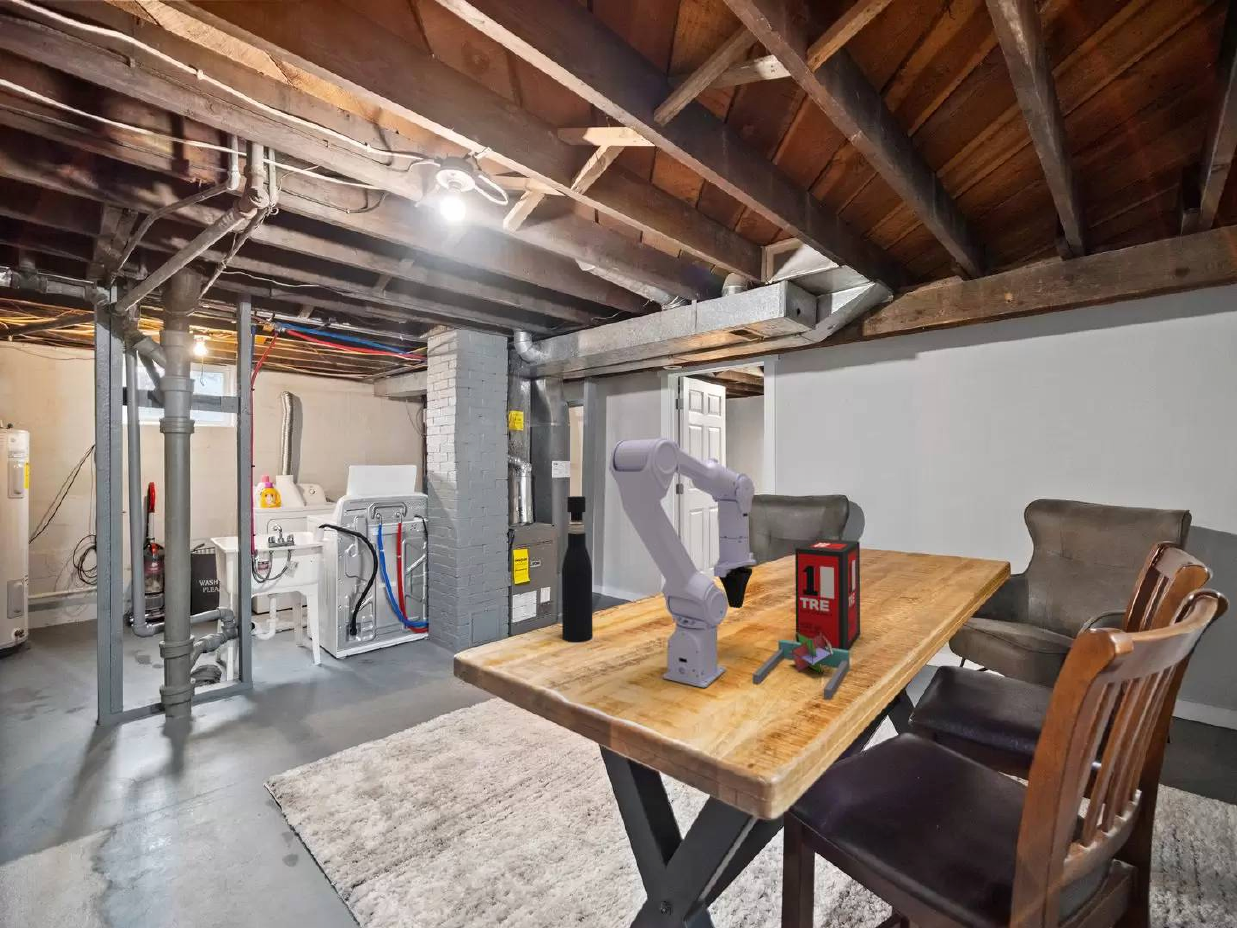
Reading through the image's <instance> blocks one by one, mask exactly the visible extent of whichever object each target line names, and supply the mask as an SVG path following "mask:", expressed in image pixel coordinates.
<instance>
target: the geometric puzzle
mask: <svg viewBox="0 0 1237 928" xmlns="http://www.w3.org/2000/svg"><path fill="white" fill-rule="evenodd" d="M796 634H797V635H798V638H799V641H800V644H801V645H800V646H798V647H796V648H795V649H793V650H792V649H791V648H790V649H791V651H790V652H789V653H791V654H792V655H793V658H794V660H792V662H793V663H794V665H795V668H796V670H797V673H801V672H803V671H804V670H806V669H808V668H812V669H813V668H815V669H816V671H817V670H818V671H817V672H819V671H820V672H819V674H822V675H823V674H825V671H826V667H828V666H827V665H826V666H824V669H822V665H820V663H819V661H820V660H822V659H823V658H825V657H827V656H828V655H830V654H833V650H832V646H831V644H830V643H829V641H828V640H827V639H826V638H825V637H824V636H823V635H822V634H821V633H820V634H819V635H817V636H815V637H814V638H812V639H810V638H808V637H805V636H803V635H801V634H799V633H798V632H796V631H795V635H794V639H793V640H792V641H794V642H795V641H796ZM814 634H817V633H814ZM821 635H822V636H823V638H824V639H825V640H826V642H827V644H826V645H827V650H828V652H827V650H826V647H825V644H824V641H823V638H822V636H821ZM826 642H825V643H826ZM792 644H794V643H792ZM792 647H793V646H792ZM826 660H827V659H826ZM828 661H829V660H828ZM825 664H826V663H825ZM810 666H811V667H810ZM815 669H814V670H815Z"/></svg>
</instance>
